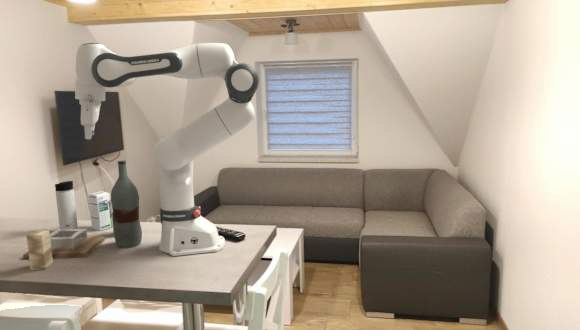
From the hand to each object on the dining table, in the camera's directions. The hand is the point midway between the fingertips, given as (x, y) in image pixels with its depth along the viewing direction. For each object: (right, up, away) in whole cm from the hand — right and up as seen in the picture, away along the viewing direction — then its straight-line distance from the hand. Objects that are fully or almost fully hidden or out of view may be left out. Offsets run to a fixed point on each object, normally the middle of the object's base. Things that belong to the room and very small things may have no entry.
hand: (89, 137), depth 139 cm
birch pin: (-12, -41, -6) cm, 43 cm away
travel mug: (-22, -35, +29) cm, 50 cm away
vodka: (+8, -38, +12) cm, 40 cm away
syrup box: (-10, -35, +31) cm, 48 cm away
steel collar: (-12, -37, +8) cm, 40 cm away
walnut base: (-12, -38, +8) cm, 41 cm away
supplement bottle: (+2, -36, +24) cm, 43 cm away
